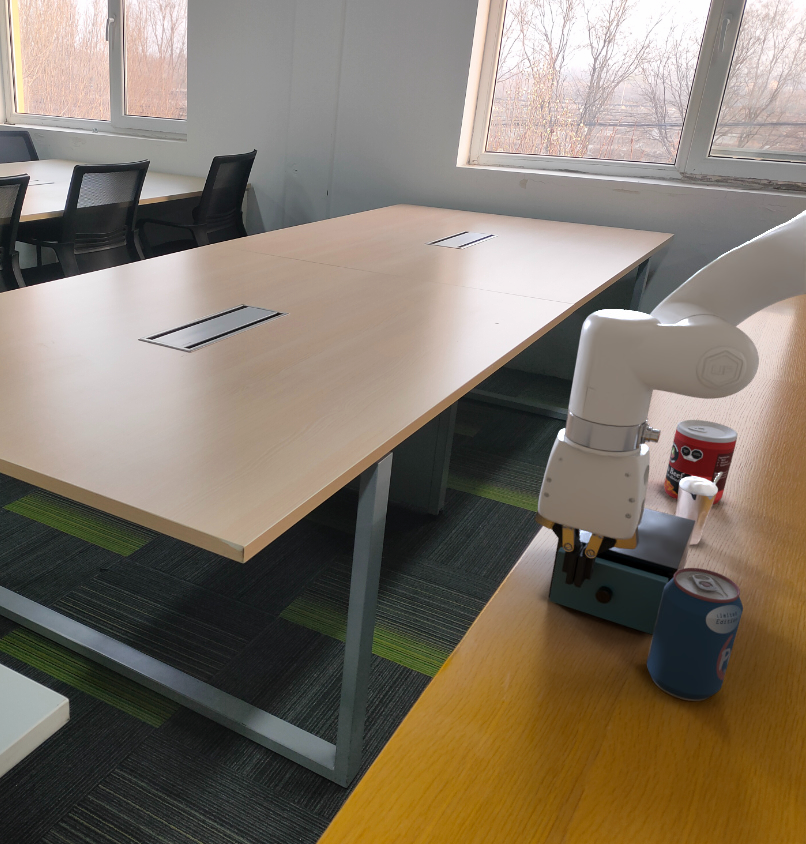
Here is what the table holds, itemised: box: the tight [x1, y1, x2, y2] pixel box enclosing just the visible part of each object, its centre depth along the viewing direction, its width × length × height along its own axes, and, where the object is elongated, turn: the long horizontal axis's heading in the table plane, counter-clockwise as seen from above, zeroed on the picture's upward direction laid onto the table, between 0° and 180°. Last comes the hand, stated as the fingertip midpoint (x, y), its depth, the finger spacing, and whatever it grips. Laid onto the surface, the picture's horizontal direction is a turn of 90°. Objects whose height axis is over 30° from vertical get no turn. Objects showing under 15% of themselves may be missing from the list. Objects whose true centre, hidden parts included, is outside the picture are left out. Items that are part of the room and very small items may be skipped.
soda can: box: [646, 567, 744, 702], centre depth 81 cm, size 7×7×12 cm
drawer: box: [549, 547, 668, 636], centre depth 95 cm, size 14×11×7 cm
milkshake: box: [674, 472, 723, 546], centre depth 109 cm, size 4×5×10 cm
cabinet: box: [547, 507, 695, 599], centre depth 97 cm, size 14×13×9 cm
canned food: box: [663, 419, 738, 506], centre depth 121 cm, size 8×8×11 cm
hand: (575, 580), depth 90 cm, fingers closed
